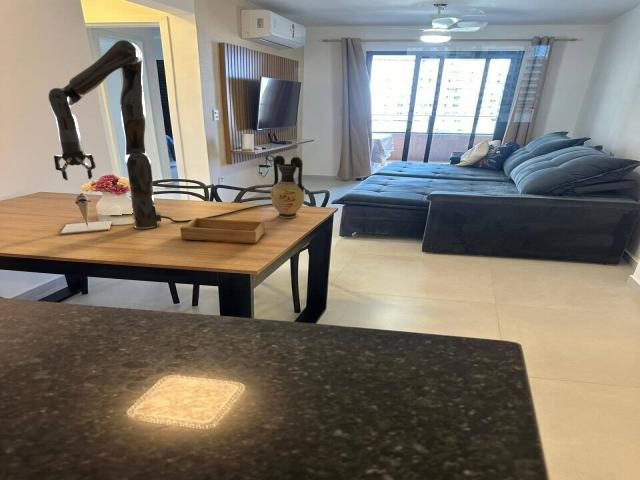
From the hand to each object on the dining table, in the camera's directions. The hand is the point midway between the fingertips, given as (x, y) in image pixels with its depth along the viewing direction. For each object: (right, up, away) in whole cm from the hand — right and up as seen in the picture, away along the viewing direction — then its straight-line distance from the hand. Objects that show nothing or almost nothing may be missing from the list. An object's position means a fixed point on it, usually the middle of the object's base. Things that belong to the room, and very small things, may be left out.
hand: (78, 179), depth 162 cm
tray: (+63, -25, -2) cm, 67 cm away
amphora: (+87, -14, +32) cm, 93 cm away
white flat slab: (0, -20, +7) cm, 21 cm away
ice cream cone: (0, -20, +7) cm, 21 cm away
